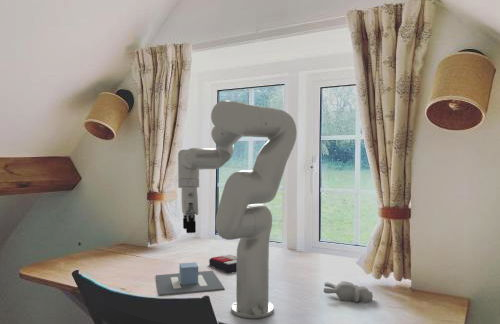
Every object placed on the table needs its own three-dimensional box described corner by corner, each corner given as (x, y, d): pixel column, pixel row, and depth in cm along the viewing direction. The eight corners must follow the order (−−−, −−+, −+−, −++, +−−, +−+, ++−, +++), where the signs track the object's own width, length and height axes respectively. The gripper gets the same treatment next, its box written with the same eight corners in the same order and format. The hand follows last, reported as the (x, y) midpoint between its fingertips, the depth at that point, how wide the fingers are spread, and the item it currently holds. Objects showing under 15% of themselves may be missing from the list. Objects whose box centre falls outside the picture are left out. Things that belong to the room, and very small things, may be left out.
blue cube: (198, 283, 134) (198, 266, 134) (181, 284, 133) (181, 267, 133) (195, 278, 140) (195, 262, 140) (179, 279, 138) (179, 263, 138)
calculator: (230, 253, 167) (250, 258, 155) (230, 263, 167) (250, 269, 155) (208, 257, 160) (228, 263, 148) (209, 267, 160) (228, 274, 148)
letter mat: (224, 289, 129) (224, 288, 129) (158, 296, 123) (158, 294, 123) (212, 271, 150) (212, 270, 150) (156, 276, 144) (156, 275, 144)
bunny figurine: (374, 293, 114) (324, 284, 118) (371, 310, 115) (322, 300, 118) (371, 284, 124) (325, 275, 127) (369, 299, 124) (323, 290, 127)
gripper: (202, 184, 129) (203, 233, 129) (195, 182, 146) (196, 226, 146) (180, 184, 127) (181, 235, 127) (176, 182, 144) (176, 227, 144)
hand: (189, 230), depth 136 cm, fingers open, 9 cm apart
